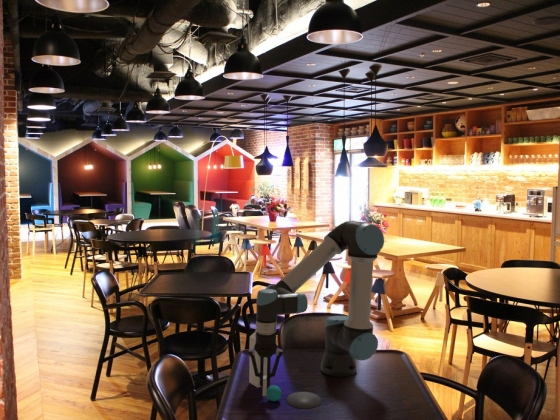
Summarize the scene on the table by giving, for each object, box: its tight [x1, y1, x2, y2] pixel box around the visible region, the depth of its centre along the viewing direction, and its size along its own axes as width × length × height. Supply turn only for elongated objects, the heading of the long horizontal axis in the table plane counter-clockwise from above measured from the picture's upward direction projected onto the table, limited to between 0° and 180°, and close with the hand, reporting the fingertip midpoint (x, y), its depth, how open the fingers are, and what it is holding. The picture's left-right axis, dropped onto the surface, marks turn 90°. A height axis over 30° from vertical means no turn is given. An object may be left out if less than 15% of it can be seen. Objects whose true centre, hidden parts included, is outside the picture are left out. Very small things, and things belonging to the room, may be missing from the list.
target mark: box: [286, 391, 322, 409], centre depth 183 cm, size 13×13×1 cm
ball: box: [266, 385, 282, 402], centre depth 182 cm, size 6×6×6 cm
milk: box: [248, 330, 267, 388], centre depth 196 cm, size 6×6×22 cm
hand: (264, 394), depth 182 cm, fingers closed
